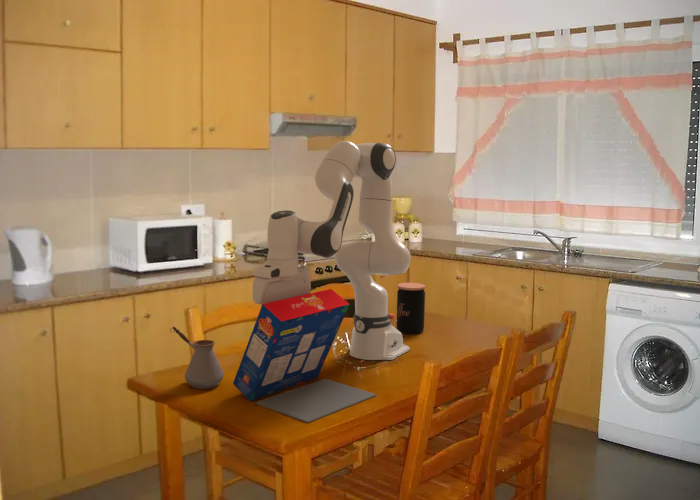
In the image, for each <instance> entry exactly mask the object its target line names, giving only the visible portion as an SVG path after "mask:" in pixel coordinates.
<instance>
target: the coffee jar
mask: <svg viewBox="0 0 700 500" xmlns="http://www.w3.org/2000/svg"><path fill="white" fill-rule="evenodd" d="M425 288H426V285H425V284H422V283H420V282H419V283H418V282H402V283H398V284H397V289H398V290H397V292H396V293H397V295H396V296H397V297H396V327H395V328H396V329H397V330H398V331H400V332H401V334H407V335H416V334H420V333H421V334H422V333H423V331H424V330H425V313H426V312H425V311H426V308H425V307H426V306H425V305H426V291H425Z"/></svg>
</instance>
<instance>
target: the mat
mask: <svg viewBox="0 0 700 500" xmlns="http://www.w3.org/2000/svg"><path fill="white" fill-rule="evenodd" d="M374 397H377V394H376V393H374V392H370V391H367V390H364V389H361V388H357V387H353V386H350V385H348V384H344V383H341V382H339V381H335V380H331V379H328V378H323V379H321V380H318V381H315V382H311V383H310V384H309V383H308V384H306V385H303V386H299V387H297V388H294V389H291V390H289V391H286V392H283V393H280V394H277V395H274V396H271V397H268V398H265V399H263V400H259V401H256V402H255V404H256V405H257V406H260V407H263V408H266V409H269V410H271V411H275V412H277V413H280V414H283V415H286V416H288V417H290V418H293V419H296V420H298V421H300V422H301V421H302V422H304V423H306V424H309V423H311V422H314V421H317V420H319V419H322V418H324V417H327V416H329V415H331V414H334V413H337V412H340V411H342V410H344V409H347V408H350V407H352V406H354V405H357V404H359V403H361V402H364V401H367V400H369V399H371V398H374Z"/></svg>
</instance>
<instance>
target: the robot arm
mask: <svg viewBox="0 0 700 500" xmlns="http://www.w3.org/2000/svg"><path fill="white" fill-rule="evenodd" d="M396 161H397V157H396V153H395V151H394V149H393V147H392V146H391V145H390V144H389V143H385V142H377V143H376V142H375V143H374V142H363V143H357V144H355V143H353V142H352V141H348V140H340V141H337V142H336V143H335V144H334V145H333V146H332V147H331V148H330V149H329V151H328V152H327V154H326V155H325V156H324V157H323V159H322V162H321V163H319V164H320V165H319V166H318V168H317V170H316V172H315V176H314V180H315V185H316V187H317V189H318V190H319V191H320V193H321V194H322V195H323V196H325V197H326V198H327V199H330V200H332V201H333V202H332V206H331V208H330V212H329V215H328V217H327V219H326V220H323V221H320V222H319V221H310V220H304V219H302V218H300V217H299V216H297V214H296V212H295V211H293V210H286V209H285V210H278V211H274V212H273V213H271V214H270V216H269V218H268V219H269V220H268V223H267V236H266V237H267V246H268V252H267V257H266V258H267V260H266V261H264V262H262V264H260V265H259V266H257V267H255V268H254V269H253V271H252V272H253V273H252V274H253V276H255V277H254V278H253V281H252V293H251V295H252V296H251V297H252V301H253V302H254V303H255V304H257V305H260V306H262V304H265V303H270V302H274V301H279V300H283V299H288V298H292V297H297V296H301V295H306V294H310V293H311V291H312V287H311V286H312V284H311V276H310V268H309V267H308V266H307V265H306V264H303V263H302V264H299V253H300V254H304V255H305V254H306V255H312V256H313V255H314V256H317V257H323V258H329V259H330V258H331V257H333V256H334V262H335V264H336V266H337V268H338V269H339V270H340V271H341V272H343V273H344V275H345V276H346V277H347V278H348V280H349V281H350V283H351V285H352V288H353V293H354V307H355V309H354V311H355V312H354V313H353V318H352V319H353V325H354V326H353V327H352V331H351V341H350V345H349V346H348V350H349V355H350V356H351V357H353V358H355V359H359V360H367V361H380V360H381V361H391V360H392V361H393V360H394V359H396V358H398V357H400V356H402V355H403V354H405V353H407V352H409V351H410V349H411V348H410V347H409V345H406V344H405V343H404V338H403V333H401V332H400V331H398V329H397V328H396V327H395V326H394V325H392V324H391V323H392V322H391V320H392V321H394V320H395V319H397V314H395V313H389V311H388V309H389V307H388V306H389V293H388V292H387V290H386V288H385V287H384V286H382V285H380V284H378V283H377V282H375V280H374V279H373V277H372V275H377V276H378V275H379V276H396V275H402V274H405V273H407V271H408V269H409V268H410V265H411V262H412V261H411V260H412V257H411V253H410V250H409V248H408V247H407V246H406V245H405V244H404V243H403V242H402V241H400V239H399V238H398V236H397V235H396V232H395V231H394V226H393V198H394V197H393V181H392V172H394V169H395V166H396ZM354 178H357V179H358V178H361V188H360V191H359V203H358V204H359V206H358V223H359V225H360V226H361V227H362V228H363V229H365V230H366V231H368V232H370V233H372V235H373V236H374V241H365V240H364V241H363V240H352V241H351V240H350V241H345V242H344V241H343V235H344V230H345V228H346V227H345V226H346V223H347V221H348V217H349V214H350V211H351V208H352V204H353V202H354V201H353V200H354V193H355V191H354V187H353V185H352V184H351V183H352V181H353V179H354ZM397 356H398V357H397Z"/></svg>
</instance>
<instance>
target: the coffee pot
mask: <svg viewBox="0 0 700 500" xmlns="http://www.w3.org/2000/svg"><path fill="white" fill-rule="evenodd" d="M172 330H173V333H176V334H177V335H178V336H179V338H180V339H182V340H183V341H184V342H185V343H187V344H188V345H189V346H190V347H191V348H192V349H193V350H194V351H193V354H192V357H191V359H190V361H189V364H188V367H187V369H186V370H185V373H184V379H185V381H186V383H188V385H190V386H191V387H192V388H194V389H199V390H202V389H203V390H206V389H212V388H215V387H217V386H218V385H219V383H221V381H223V379H224V376H225V374H224V371H223V369H222V367H221V364H220V361H219V360H218V358H217V355H216V353H215V352H214V345H215V344H216V342H215V340H211V339H199V340H196V341H193V342H191V340H190V339H189V338H188V337H187V336H186V335H185V334H184V333H183V332H181V331H180V329H177V327H175V326H172V328H170V330H169V331H170V333H172Z"/></svg>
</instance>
